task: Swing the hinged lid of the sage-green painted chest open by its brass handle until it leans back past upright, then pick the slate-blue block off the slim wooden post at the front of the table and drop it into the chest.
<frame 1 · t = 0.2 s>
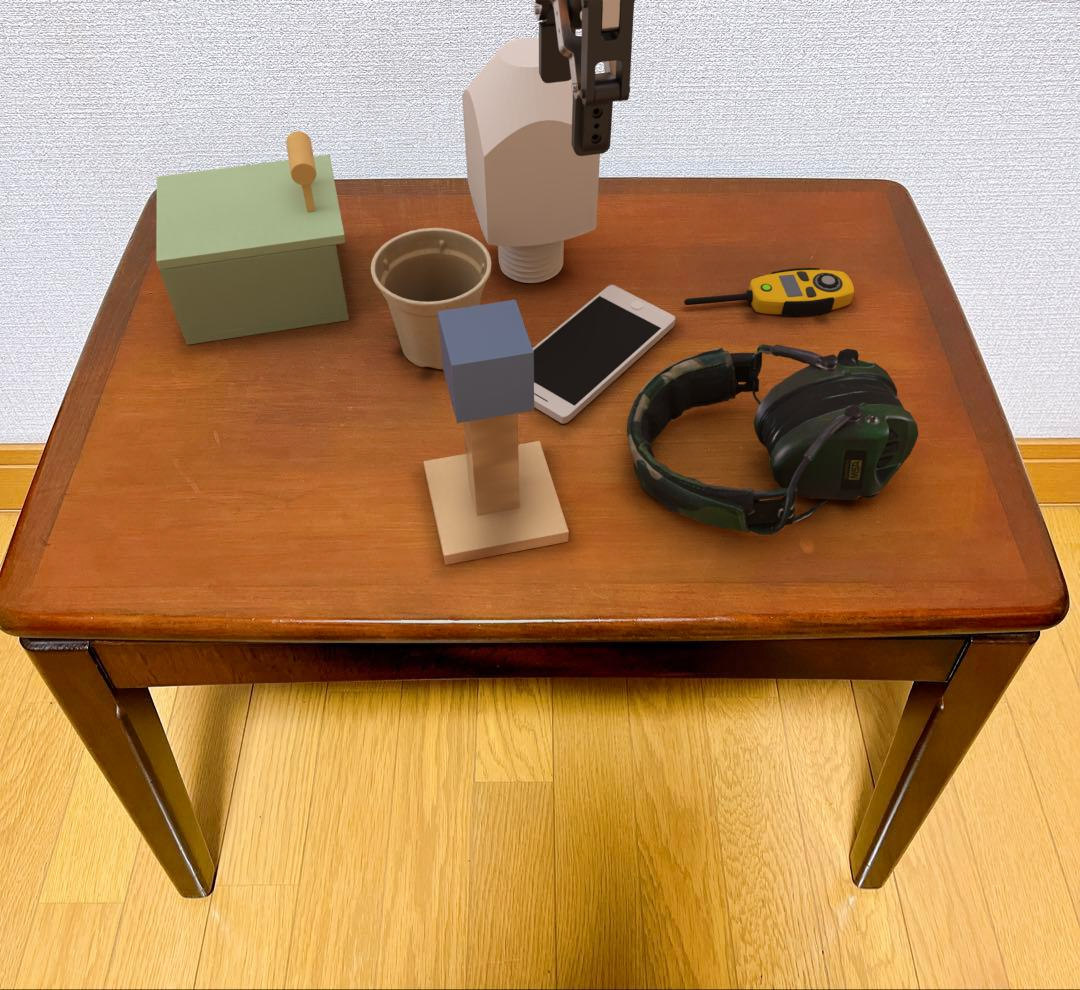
hand: (572, 114, 63), 25 cm above the table, tool pointing down, fingers open, 8 cm apart
chest: (264, 289, 91), on the table
post: (494, 505, 75), on the table
block: (488, 389, 66), point 12 cm above the table, touching post
lid: (242, 184, 82), point 11 cm above the table, hinge at 0.0°
headphones: (758, 473, 77), on the table
smartphone: (588, 355, 85), on the table
yellow walkie talkie: (765, 303, 90), on the table
flower pot: (440, 348, 86), on the table
light fixture: (531, 265, 93), on the table
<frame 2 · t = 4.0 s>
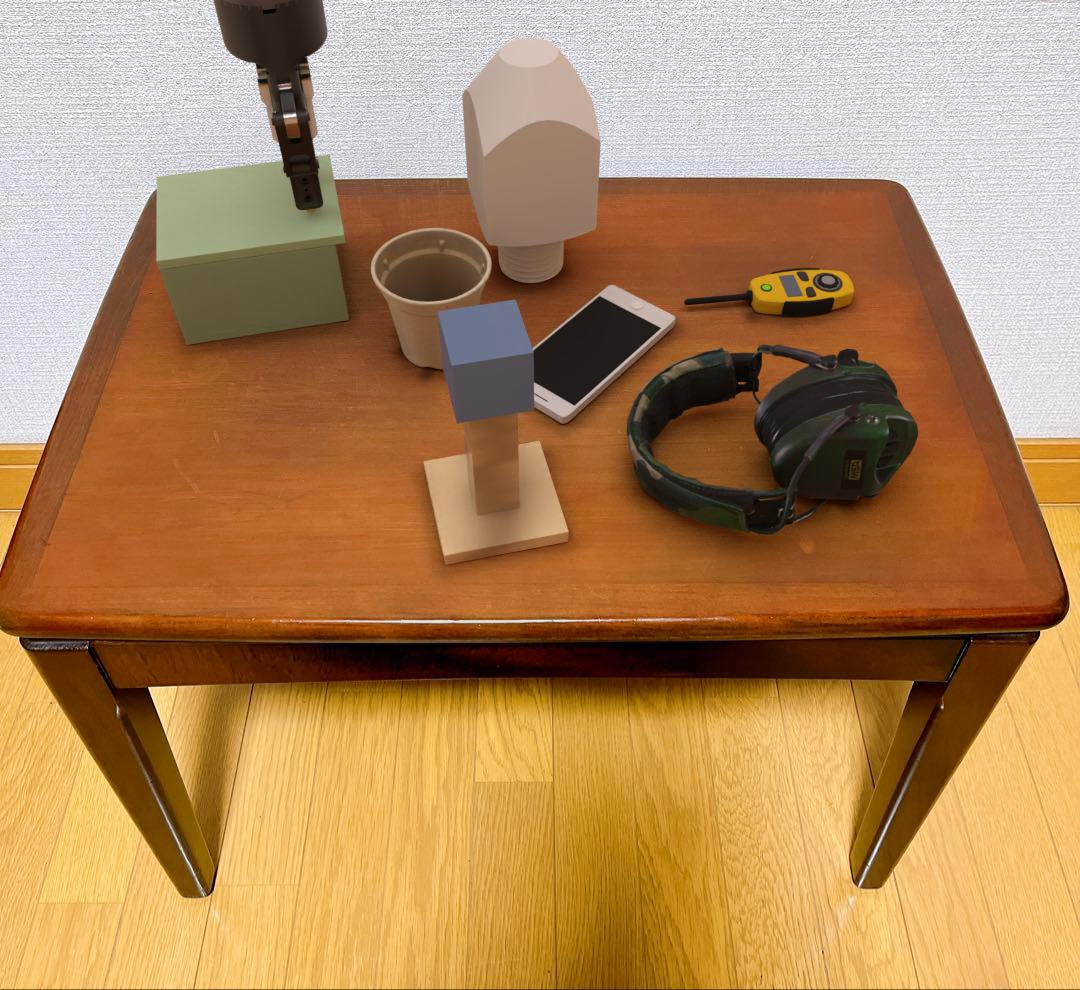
hand: (307, 187, 84), 10 cm above the table, tool pointing down, fingers closed on lid, 5 cm apart
lid: (242, 185, 82), point 11 cm above the table, hinge at -0.1°, touching gripper
everything else where it was.
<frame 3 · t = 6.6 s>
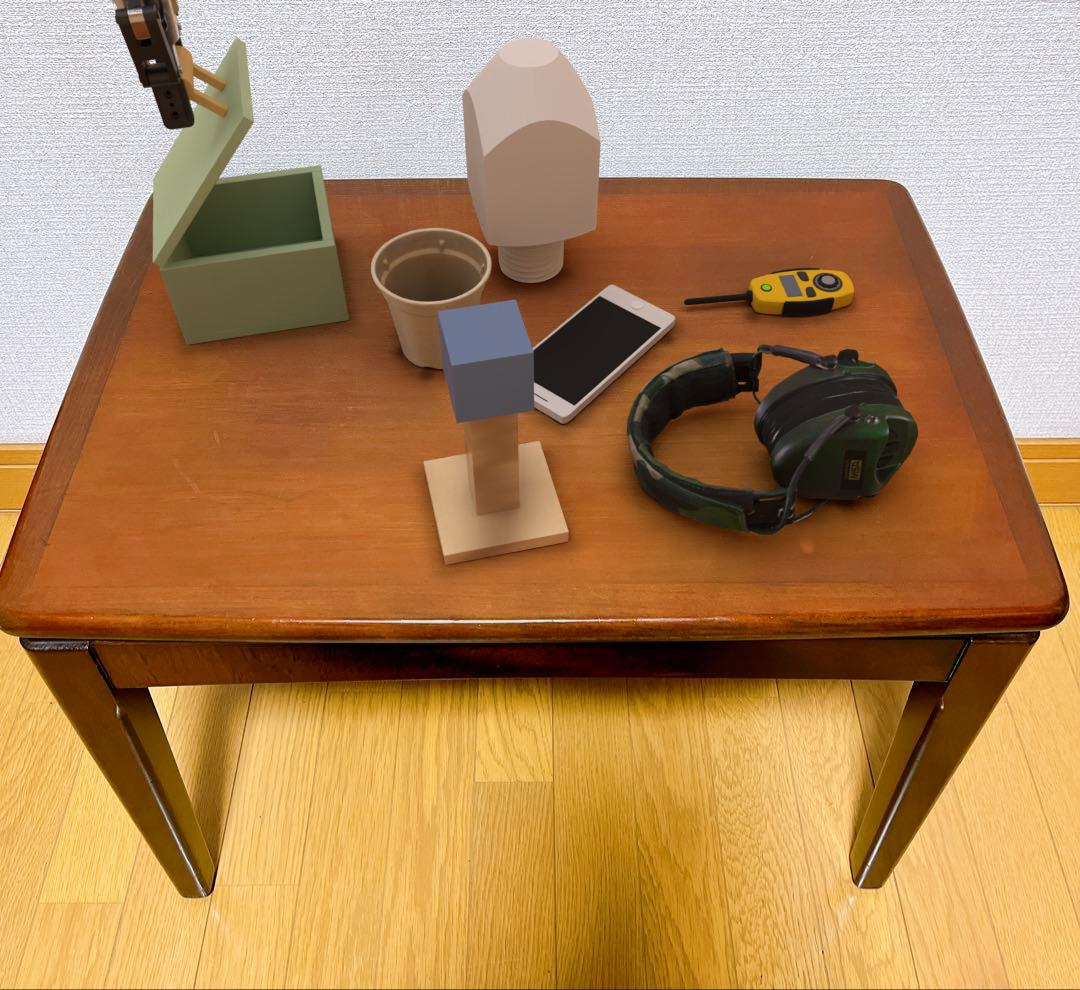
hand: (180, 105, 76), 18 cm above the table, tool pointing down, fingers closed on lid, 5 cm apart
lid: (170, 138, 78), point 15 cm above the table, hinge at 49.7°, touching gripper
everything else where it was.
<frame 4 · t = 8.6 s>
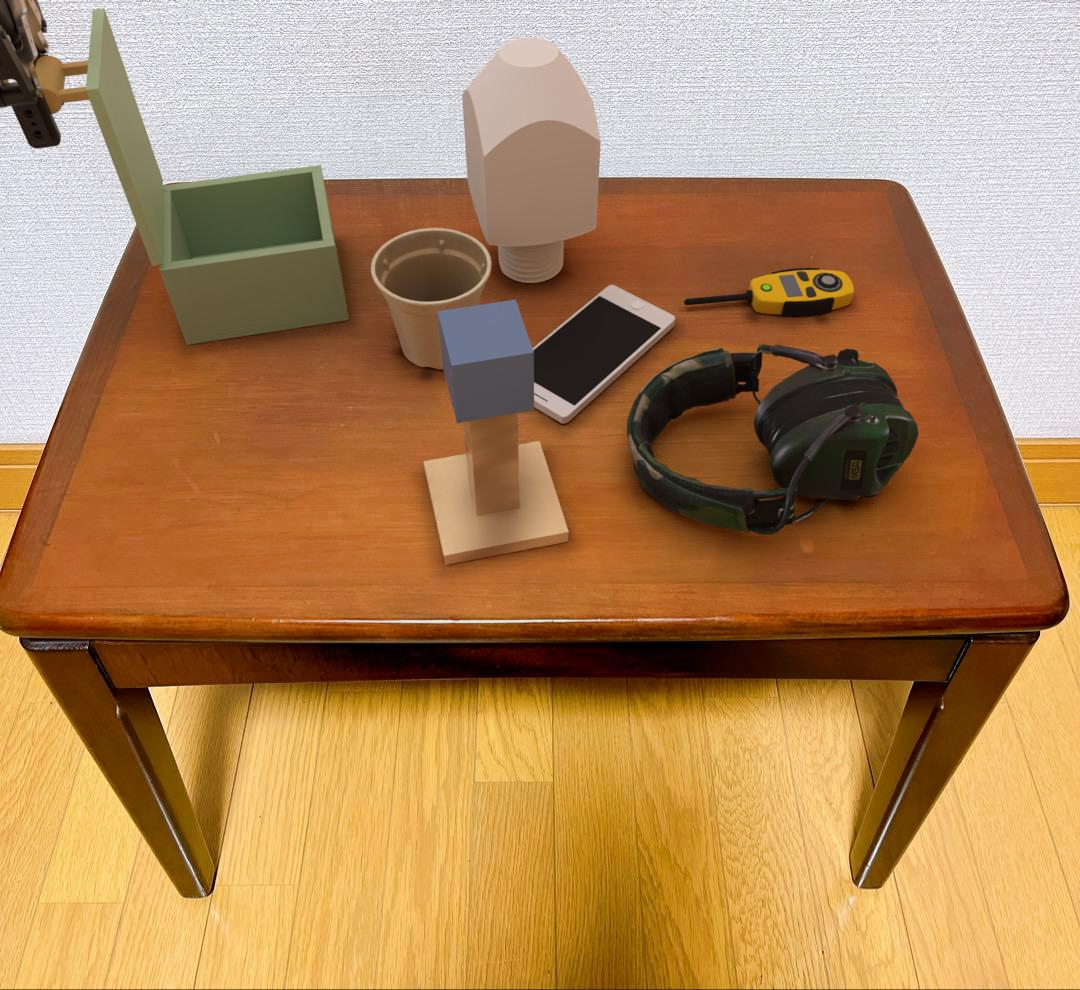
hand: (49, 123, 75), 18 cm above the table, tool pointing down, fingers closed on lid, 4 cm apart
lid: (97, 144, 77), point 16 cm above the table, hinge at 90.4°, touching gripper
everything else where it was.
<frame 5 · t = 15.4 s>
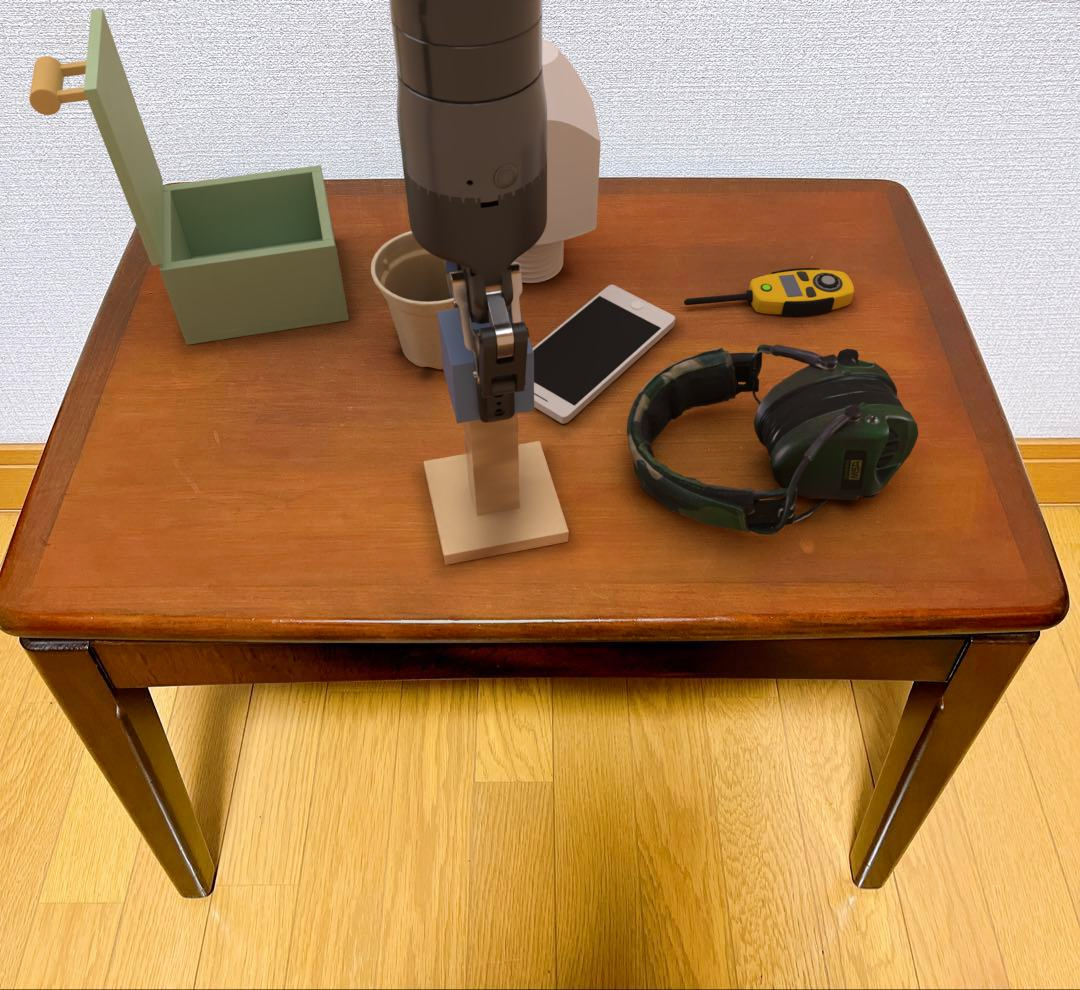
hand: (487, 385, 65), 12 cm above the table, tool pointing down, fingers closed on block, 5 cm apart
block: (488, 389, 66), point 12 cm above the table, touching gripper, post
lid: (97, 144, 77), point 16 cm above the table, hinge at 90.9°
everything else where it was.
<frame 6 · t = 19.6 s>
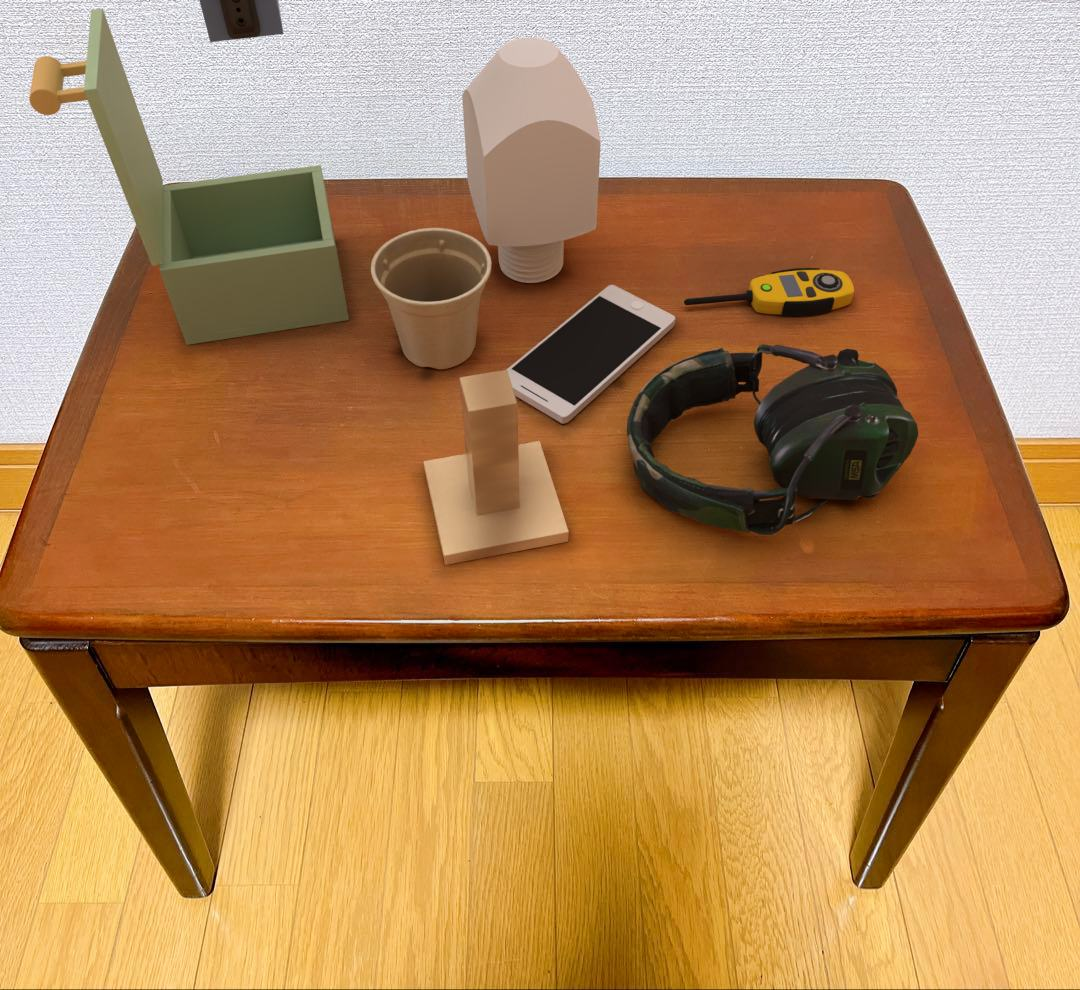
hand: (243, 15, 71), 25 cm above the table, tool pointing down, fingers closed on block, 5 cm apart
block: (245, 21, 71), point 24 cm above the table, touching gripper
everything else where it was.
when the fingers open (7 cm above the table, at t = 24.2 s): block drops 6 cm, resting on chest.
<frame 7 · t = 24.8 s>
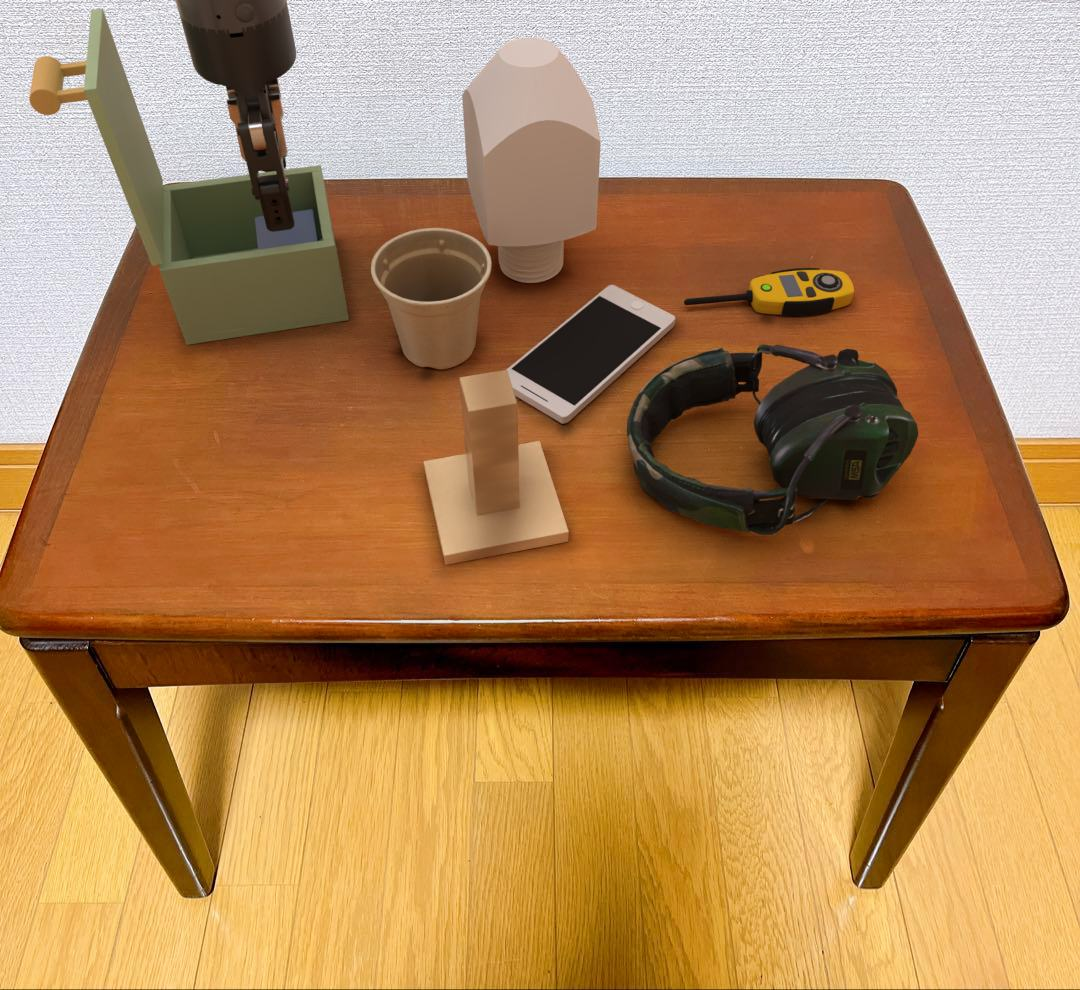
hand: (277, 197, 84), 9 cm above the table, tool pointing down, fingers open, 8 cm apart
block: (296, 276, 90), point 1 cm above the table, touching chest
everything else where it was.
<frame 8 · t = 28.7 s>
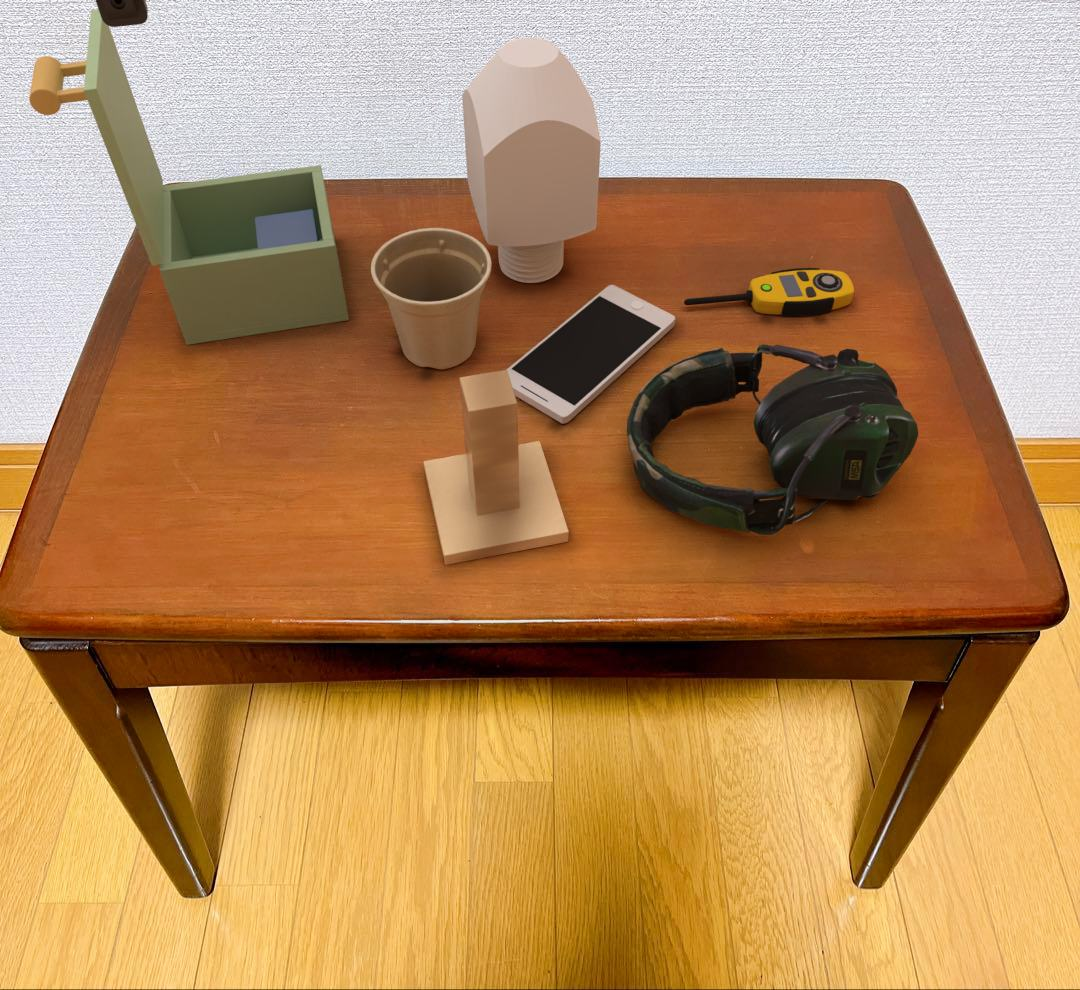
nothing on the table moved.
at the end: lid at +91° (first picture: +0°); block inside the target area in the chest (3.0 cm from its centre), point 0.9 cm above the chest's base; the gripper is holding nothing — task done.
